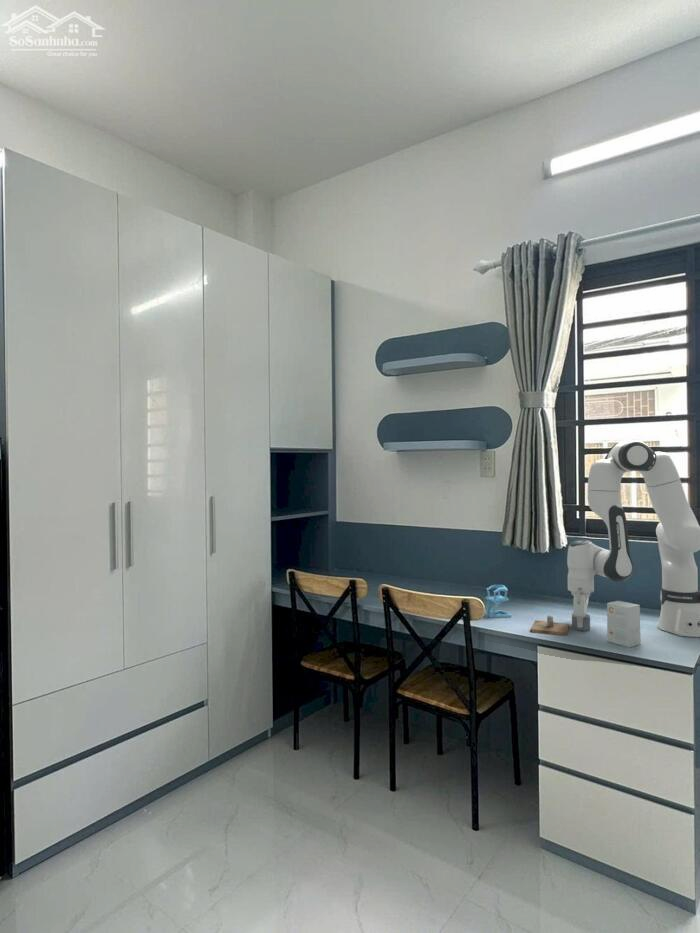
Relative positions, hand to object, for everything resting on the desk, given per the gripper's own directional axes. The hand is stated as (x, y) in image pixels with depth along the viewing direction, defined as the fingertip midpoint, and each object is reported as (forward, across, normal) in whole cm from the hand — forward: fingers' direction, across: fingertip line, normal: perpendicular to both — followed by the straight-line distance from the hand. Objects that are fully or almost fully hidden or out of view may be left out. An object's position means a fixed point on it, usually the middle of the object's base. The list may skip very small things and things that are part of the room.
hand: (581, 623), depth 212 cm
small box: (+2, -12, -14) cm, 19 cm away
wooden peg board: (+2, -5, +10) cm, 11 cm away
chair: (+2, +6, +31) cm, 32 cm away
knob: (+2, 0, 0) cm, 2 cm away
